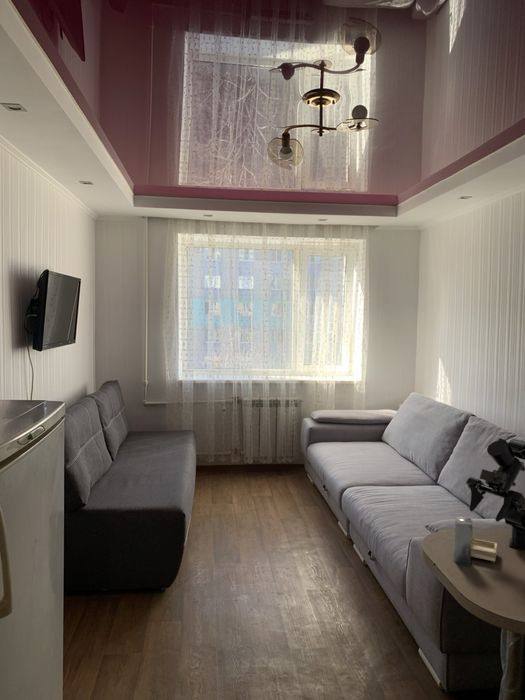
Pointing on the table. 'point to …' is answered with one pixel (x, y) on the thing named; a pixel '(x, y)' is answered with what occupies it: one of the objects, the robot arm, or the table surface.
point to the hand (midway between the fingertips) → (483, 515)
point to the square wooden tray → (483, 549)
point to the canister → (463, 540)
